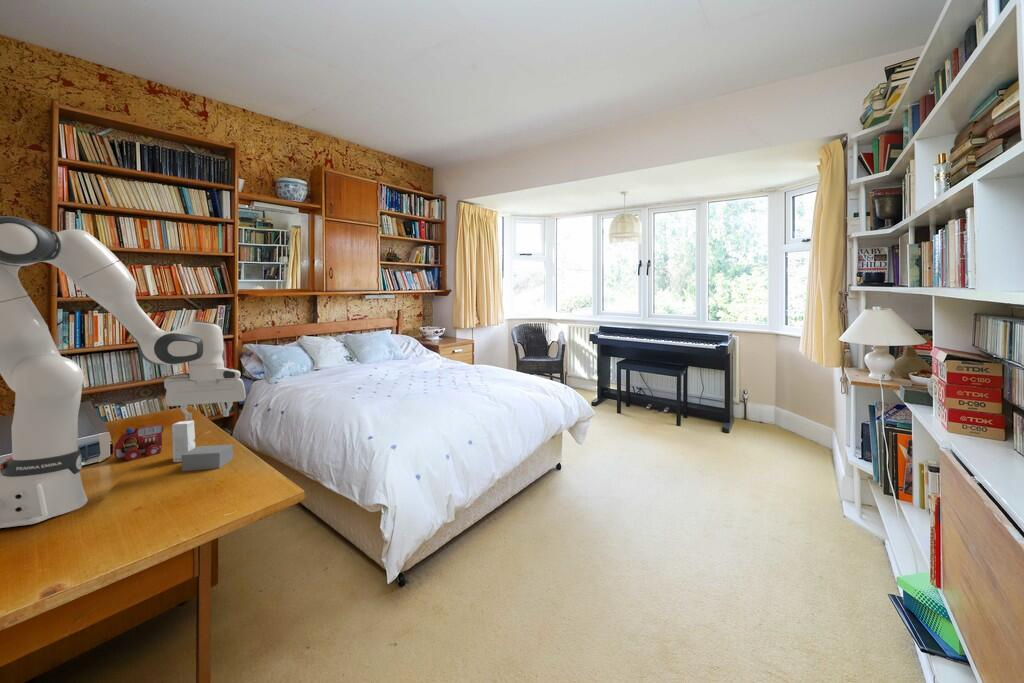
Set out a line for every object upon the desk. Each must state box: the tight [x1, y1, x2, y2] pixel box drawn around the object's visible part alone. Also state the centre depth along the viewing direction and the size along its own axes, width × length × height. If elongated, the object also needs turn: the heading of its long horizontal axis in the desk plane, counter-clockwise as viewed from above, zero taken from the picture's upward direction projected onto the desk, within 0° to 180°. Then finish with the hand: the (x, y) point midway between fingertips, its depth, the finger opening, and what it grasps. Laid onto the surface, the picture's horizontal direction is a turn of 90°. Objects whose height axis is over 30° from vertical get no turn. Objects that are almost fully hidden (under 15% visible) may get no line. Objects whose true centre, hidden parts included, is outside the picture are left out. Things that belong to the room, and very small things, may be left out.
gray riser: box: [181, 443, 234, 472], centre depth 132 cm, size 10×10×5 cm
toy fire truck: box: [113, 423, 164, 462], centre depth 139 cm, size 7×12×10 cm, turn 146°
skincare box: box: [171, 420, 196, 463], centre depth 137 cm, size 6×4×12 cm
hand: (207, 417), depth 131 cm, fingers open, 8 cm apart
